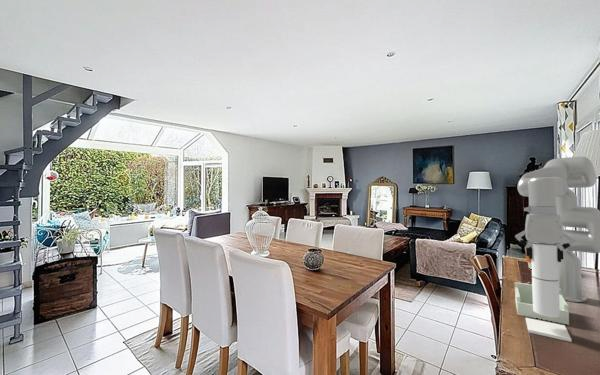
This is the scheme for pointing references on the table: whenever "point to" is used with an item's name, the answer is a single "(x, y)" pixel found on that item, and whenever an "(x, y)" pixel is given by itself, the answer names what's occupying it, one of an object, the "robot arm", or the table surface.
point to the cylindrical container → (545, 279)
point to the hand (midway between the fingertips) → (544, 259)
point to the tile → (548, 329)
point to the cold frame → (526, 304)
